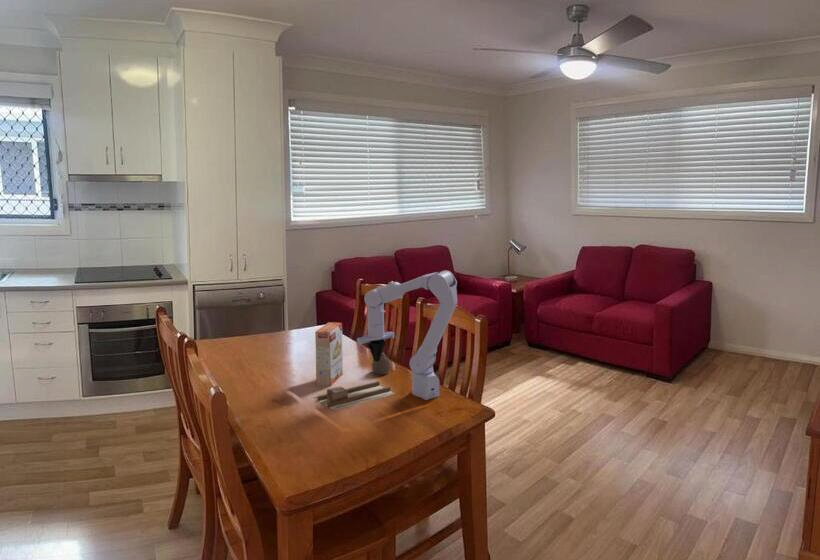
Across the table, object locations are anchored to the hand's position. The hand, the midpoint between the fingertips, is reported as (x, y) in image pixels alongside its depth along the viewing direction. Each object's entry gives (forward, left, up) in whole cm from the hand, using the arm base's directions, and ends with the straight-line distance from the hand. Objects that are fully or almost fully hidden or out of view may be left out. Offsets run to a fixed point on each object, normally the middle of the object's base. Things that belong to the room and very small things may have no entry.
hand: (376, 360), depth 202 cm
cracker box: (+16, +10, -11) cm, 22 cm away
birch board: (-3, +11, -10) cm, 15 cm away
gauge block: (-3, +18, -9) cm, 20 cm away
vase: (+11, -9, -11) cm, 18 cm away
